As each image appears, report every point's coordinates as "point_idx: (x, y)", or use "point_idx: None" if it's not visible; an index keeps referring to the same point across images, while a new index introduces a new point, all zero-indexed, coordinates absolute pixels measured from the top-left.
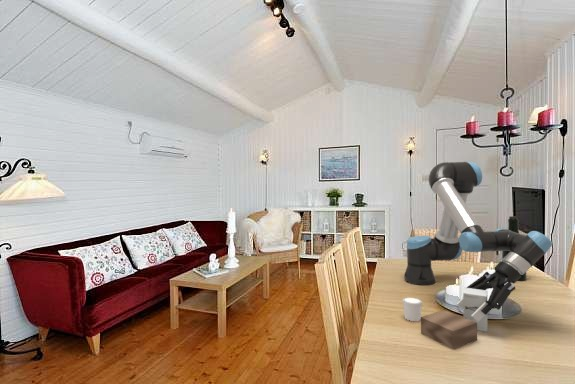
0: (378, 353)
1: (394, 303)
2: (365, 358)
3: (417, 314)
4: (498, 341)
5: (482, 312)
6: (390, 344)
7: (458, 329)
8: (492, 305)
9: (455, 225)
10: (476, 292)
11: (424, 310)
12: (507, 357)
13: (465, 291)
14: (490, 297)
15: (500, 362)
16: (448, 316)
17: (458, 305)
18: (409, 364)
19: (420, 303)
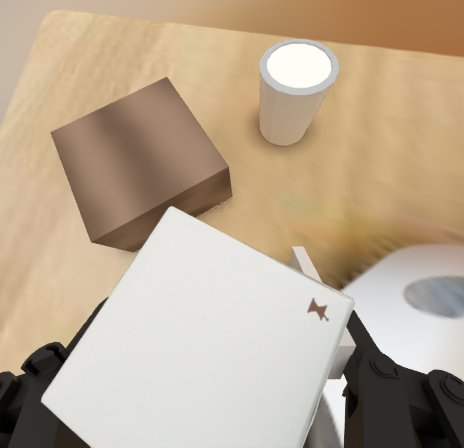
0: (110, 38)
1: (405, 104)
2: (98, 21)
3: (261, 115)
4: None
5: None
6: (139, 58)
7: (58, 152)
8: (27, 374)
9: None
10: (159, 342)
11: (357, 177)
12: (32, 284)
13: (203, 239)
14: (36, 439)
15: (18, 249)
16: (163, 160)
17: (291, 254)
18: (64, 75)
19: (271, 88)
